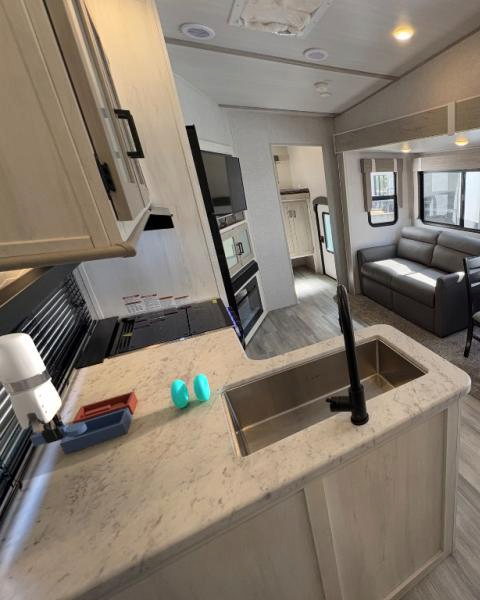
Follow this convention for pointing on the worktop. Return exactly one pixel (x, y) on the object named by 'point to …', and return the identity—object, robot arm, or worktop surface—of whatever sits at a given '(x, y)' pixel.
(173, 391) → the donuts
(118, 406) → the red elongated piece
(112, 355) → the worktop surface
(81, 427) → the blue spoon
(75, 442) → the blue bin
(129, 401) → the red bin
